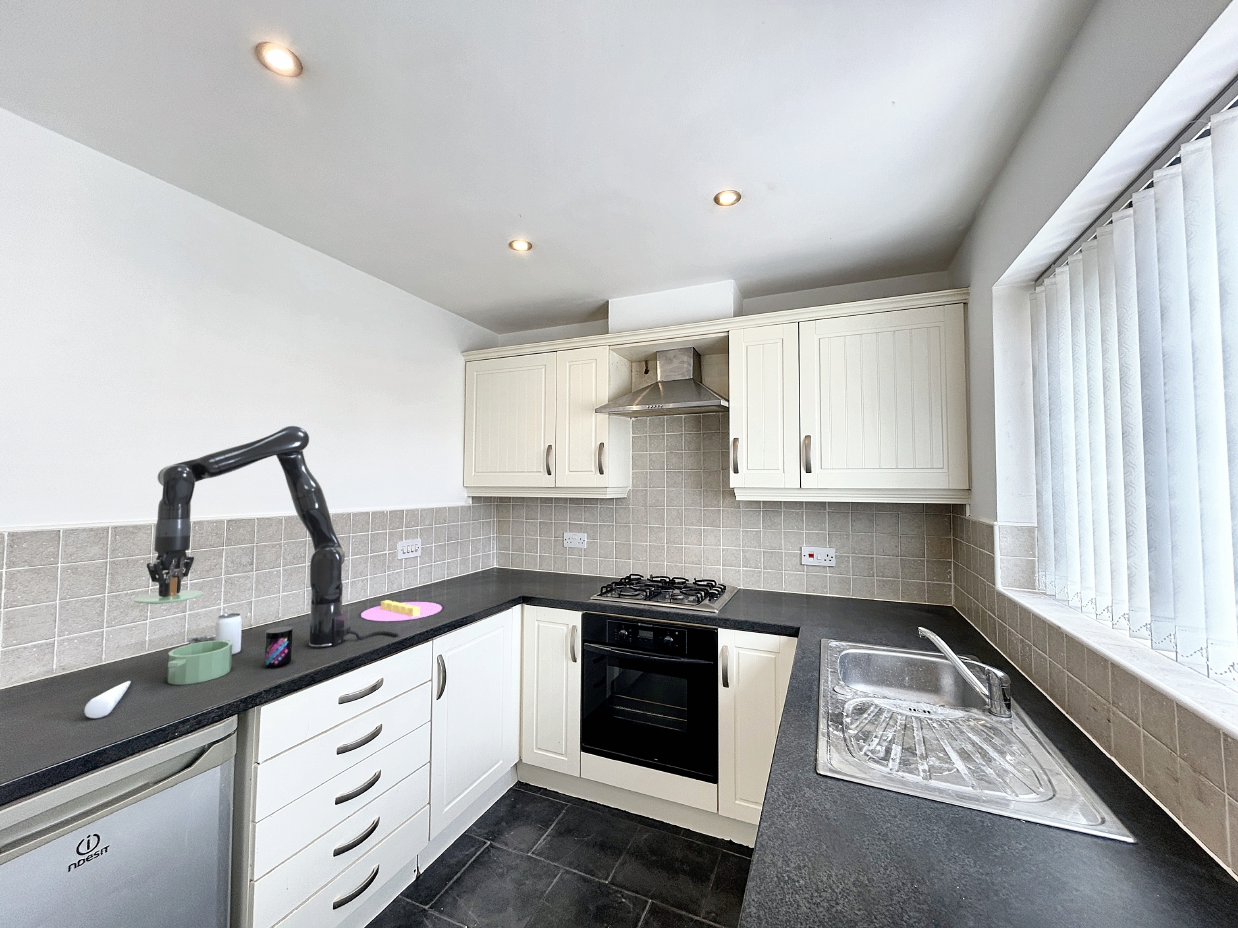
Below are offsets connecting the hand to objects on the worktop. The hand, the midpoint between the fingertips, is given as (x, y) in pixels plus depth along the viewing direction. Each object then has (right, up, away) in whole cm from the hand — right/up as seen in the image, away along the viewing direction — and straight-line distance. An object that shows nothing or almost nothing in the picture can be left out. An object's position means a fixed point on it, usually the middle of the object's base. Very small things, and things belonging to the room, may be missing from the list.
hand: (169, 594), depth 139 cm
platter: (+35, -26, +70) cm, 83 cm away
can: (+3, -24, +17) cm, 29 cm away
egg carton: (-7, -24, +20) cm, 32 cm away
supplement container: (+26, -23, +7) cm, 36 cm away
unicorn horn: (+2, -22, -18) cm, 28 cm away
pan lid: (0, -1, 0) cm, 1 cm away
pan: (+9, -23, -1) cm, 24 cm away
